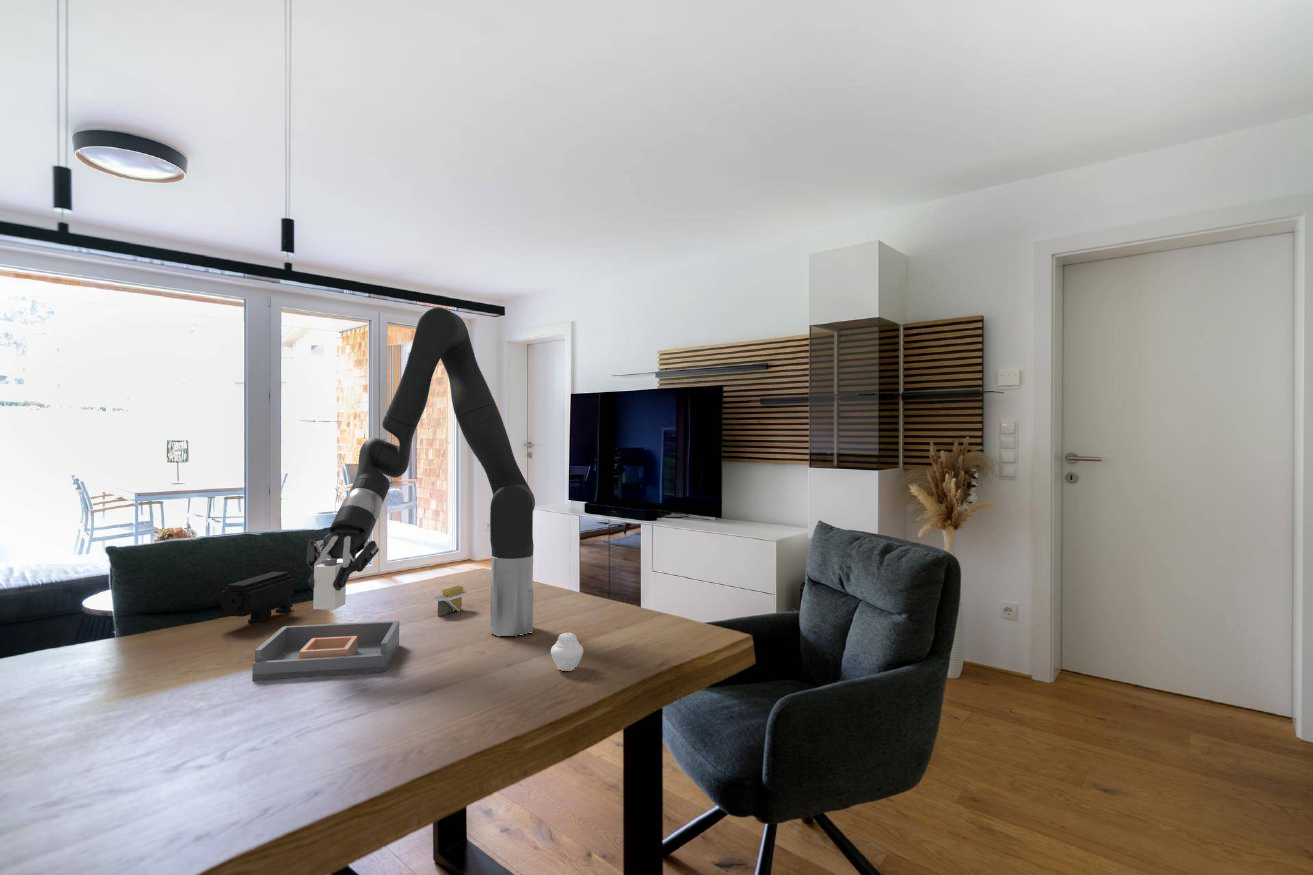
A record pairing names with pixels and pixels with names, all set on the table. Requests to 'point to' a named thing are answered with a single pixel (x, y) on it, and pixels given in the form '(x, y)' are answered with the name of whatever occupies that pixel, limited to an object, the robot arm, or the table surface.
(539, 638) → the table surface
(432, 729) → the table surface
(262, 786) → the table surface
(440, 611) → the platform
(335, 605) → the plug
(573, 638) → the white lidded jar
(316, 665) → the walled box
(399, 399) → the robot arm
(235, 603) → the security camera
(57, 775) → the table surface
